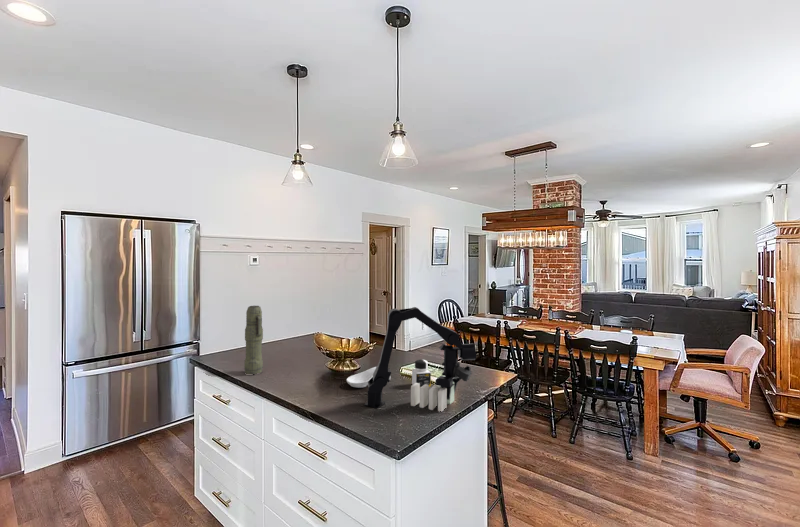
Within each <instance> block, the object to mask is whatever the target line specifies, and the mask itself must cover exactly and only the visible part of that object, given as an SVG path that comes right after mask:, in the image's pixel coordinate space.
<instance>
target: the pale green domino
mask: <svg viewBox="0 0 800 527" xmlns="http://www.w3.org/2000/svg"><path fill="white" fill-rule="evenodd" d="M453 384H454V382H453ZM454 402H455V393H454V385H453V386H452V387H451V393H450V399H449V400H448V399H447V405H451V404H452V403H454Z"/></svg>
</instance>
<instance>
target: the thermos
mask: <svg viewBox="0 0 800 527" xmlns="http://www.w3.org/2000/svg"><path fill="white" fill-rule="evenodd" d="M245 314H246V316H245V317H246V321H245V322H246V323H245V324H246V326H245V329H244V340H245V358H244V366H243V367H244V374H245V373H246V374H257V373H261V372H262V373H263V367H264V364H263V363H264V362H263V355H262V353H263V350H262V349H263V344H262V343H263V339H264V338H263V337H264V328H263V318H262V317H263V316H262V315H263V311H262V308H261V306H260V305H250V306H248V307H247V310H246V313H245ZM262 373H261V374H262Z"/></svg>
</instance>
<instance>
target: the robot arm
mask: <svg viewBox="0 0 800 527" xmlns="http://www.w3.org/2000/svg"><path fill="white" fill-rule="evenodd" d="M386 319H387V320H386V321H387V323H386V324H387V326H386V333H385V337H384V341H383V345H382V349H381V353H380V357H379V361H378V363H377V365H376V366H375V367H376V369H375V371H374V374H373V377H372V378H371V379H370V380H369V381H368V385H367V388H368V389H367V402H365V403H364V404H363V405H364V406H366V407H371V408H375V409H379V408H381V407H382V406H383V405H386V401H383V389H384V387H386V386H387V385H388V383H390V380H389V377H390V376H391V374H392V371H391V367H390V368H389V363H390V360H391V357H392V351H393V346H394V343H395V339H396V336H397V332H398V331H399V329H400V326H401V324H402V322H404V321H408V320H412V319H416V320H418V321H419V322H421V323H423V325H425V326H427V327H428V328H429V329H431V331H434V332H435V333H437V335H438V336H439V337H440V338H441V339H442V340H443V341H445V343H446V344H445V343H442V344H441V345H440V346H439V347H438V348H439V349H440V350H441V351H443V362H441V363H442V364H441V366H443V371H442V372H441V375H440V376H439V377H438V378H436V379H435V386H440V387H441V388H443V387H444V388H447V399H448V400H449V399H450V393H451V387H452V386H453V385H454V394H455V393H456V389H457V386H458V383H459V382H460V381H463V382H468V381H469V380H470V378H471V375H472V374H473V373H472V370H471V366H469V365H466V366H465V367H464V366H461V364H460V362H459V361H458V358H459V359H460V360H461V361H475V360H476V359H477V351H476V347H475V343H473V342H471V343H462V341H460V335H459V334H458V332H456V331H455V330H454V329H452V328H449V327H447V326H444V325H443V324H440V323H438V322H437V321H436V320H434V319H433V318H431V317H430V316H429V315H428V314H426V313H424V312H423V311H421V309H419V308H418V307H415V306H414V307H410V308H401V309H399V308H391V309H390V310H388V313H387V318H386ZM453 382H454V384H453ZM441 388H440V389H441Z"/></svg>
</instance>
